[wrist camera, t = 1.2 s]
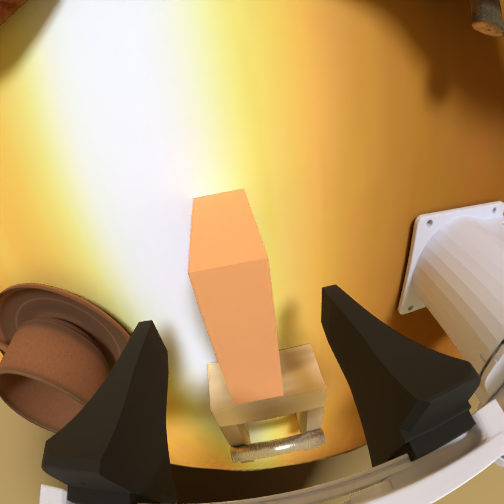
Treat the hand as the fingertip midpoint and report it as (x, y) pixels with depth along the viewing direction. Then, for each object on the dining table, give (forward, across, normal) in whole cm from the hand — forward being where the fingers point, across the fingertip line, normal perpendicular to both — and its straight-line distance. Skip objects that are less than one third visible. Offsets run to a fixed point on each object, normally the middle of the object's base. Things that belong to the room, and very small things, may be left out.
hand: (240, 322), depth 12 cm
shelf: (+4, -1, +14) cm, 15 cm away
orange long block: (+4, 0, 0) cm, 4 cm away
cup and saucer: (+5, +12, +4) cm, 14 cm away
